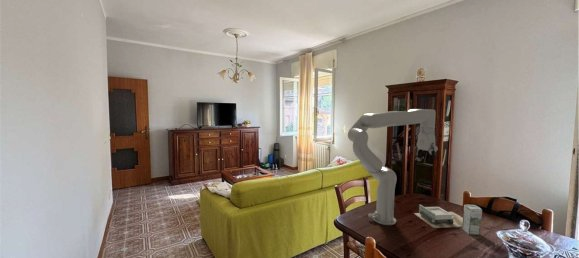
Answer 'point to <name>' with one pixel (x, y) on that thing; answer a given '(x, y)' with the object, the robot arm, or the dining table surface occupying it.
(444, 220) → the pale grey flat box
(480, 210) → the syrup box
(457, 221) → the cream tray
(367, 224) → the dining table surface
